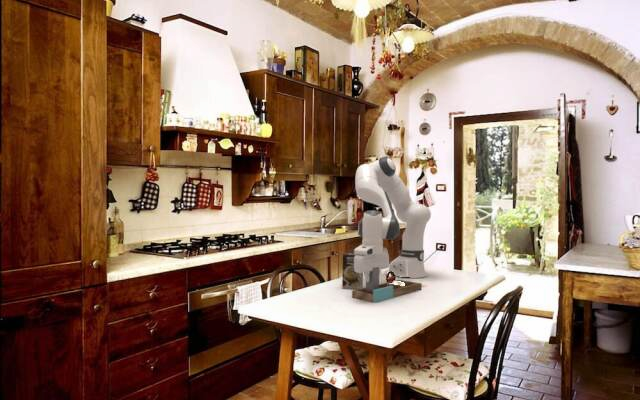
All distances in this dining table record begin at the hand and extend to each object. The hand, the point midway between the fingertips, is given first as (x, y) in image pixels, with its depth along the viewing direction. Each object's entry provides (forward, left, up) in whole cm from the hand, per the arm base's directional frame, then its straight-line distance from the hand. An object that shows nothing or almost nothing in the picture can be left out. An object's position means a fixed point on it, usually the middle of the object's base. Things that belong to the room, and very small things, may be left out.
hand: (372, 280), depth 196 cm
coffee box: (-19, +9, -7) cm, 22 cm away
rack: (0, +11, -7) cm, 13 cm away
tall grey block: (0, 0, -4) cm, 4 cm away
